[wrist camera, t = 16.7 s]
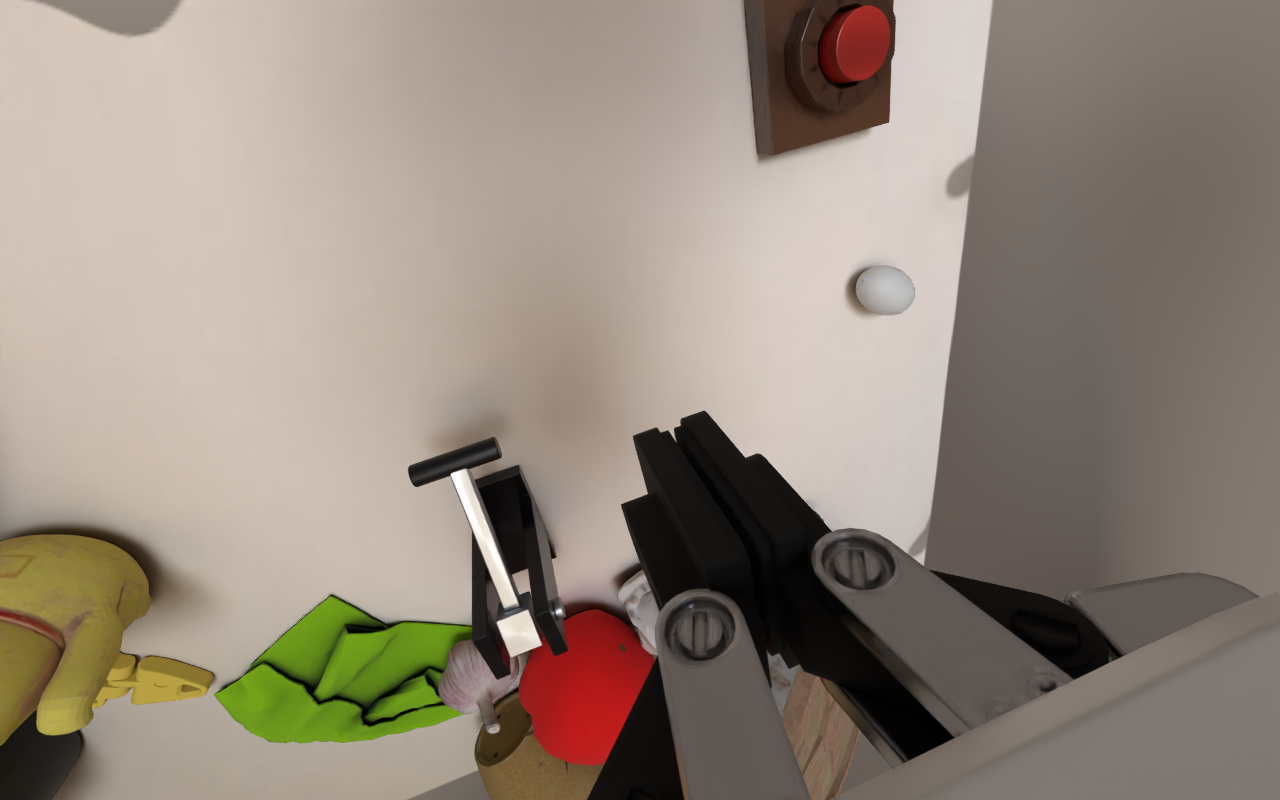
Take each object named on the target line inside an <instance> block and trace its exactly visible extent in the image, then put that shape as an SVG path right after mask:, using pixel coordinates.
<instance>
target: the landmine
mask: <svg viewBox="0 0 1280 800" xmlns="http://www.w3.org/2000/svg"><path fill="white" fill-rule="evenodd" d="M767 655H768V662H769V669H770V676H771V683H772V688H771V692H772V694H773V697H774V700H775V702H776V705H777V708H778V711H779V713H780V716H781V719H782V721H783V724H784V727H785V729H786V732H787V735H788V738H789V740H790V743H791V746H792V748H793V751H794V754H795V757H796V759H797V762H798V765H799V767H800V770H801V773H802V776H803V778H804V781H805V784H806V786H807V789H808V792H809V794H810V797H811V800H831V799H833V798H835V797H837V796H838V795H839V793H840V790H841V788H842V786H843V783H844V781H845V778H846V775H847V773H848V770H849V767H850V764H851V761H852V758H853V755H854V752H855V749H856V746H857V743H858V740H859V736H860V733H861V731H860V730H859V728H858V727H857V726H856V725H855V724H854V722H853V721H852V720H851V719H850V718H849V716H848V715H847V714H846V713H845V712H844V710H843V709H842V708H841V707H840V706H839V704H838V703H837V702H836V701H835V700H834V698H833V697H832V696H831V695H830V694H829V692H828V691H827V690H826V688H825V686H824V685H823V683H822V682H821V679H820V677H818V676H815V675H812V674H809V673H806V672H804V671H803V669H802V667H801V666H800V665H797V666H795V667H793V668H791V669H788V667H787V665H786V664H785V662H784V660H783V659H782V657H781V655H780V654H776V655H774V656H771V655H770V654H769V653H768V651H767Z"/></svg>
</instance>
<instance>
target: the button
mask: <svg viewBox="0 0 1280 800" xmlns="http://www.w3.org/2000/svg"><path fill="white" fill-rule="evenodd" d="M889 44H890V28H889V23H888V20H887V18H886V16H885V15H884V13H883V12H882V11H881V10H880V9H878V8H876V7H874V6H869V5H866V6H862V7H859V8H856V9H853V10H850V11H847V12H844V13H841V14H839V15H838V16H836V17H835V18H834V19H833V20H832V21H831V22H830V23H829V25H828V26H827V28H826V29H825V31H824V34H823V36H822V39H821V43H820V49H819V58H820V64H821V67H822V70H823V72H824V73H825V75H826V76H827V77H828V78H829V79H830V80H832V81H833V82H836V83H847V82H854V81H860V80H864V79H867V78H869V77H870V76H872V75H873V74H874V73H875V72H876V71H877V70H878V69H879V68H880V66H881V65H882V63H883V62H884V60H885V57H886V55H887V52H888V49H889Z"/></svg>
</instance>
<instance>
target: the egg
mask: <svg viewBox="0 0 1280 800" xmlns="http://www.w3.org/2000/svg"><path fill="white" fill-rule="evenodd" d="M856 293H857V297H858V299H859V301H860V302H861V303H862V304H863V306H864V307H865V308H867V309H868V310H870V311H872V312H874V313H876V314H879V315H896V314H899V313H902V312H903V311H905V310H907V309H908V308H909V307H910V306H911V304H912V302H913V300H914V297H915V288H914V285H913V282H912V280H911V279H910V278H909V277H908V276H907V275H906V274H905V273H904V272H903V271H901V270H899V269H897V268H894V267H891V266H875V267H872V268H870V269H868V270H866V271H865V272H863V273H862V274H861V275H860V277H859V279H858V280H857V283H856Z"/></svg>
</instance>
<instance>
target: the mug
mask: <svg viewBox="0 0 1280 800" xmlns="http://www.w3.org/2000/svg"><path fill="white" fill-rule="evenodd" d="M36 721H37V711H34V712H33V713H32V714H31V715H30V716H29V717H28V718H27V719H26V720H25V721H24V722H23V723H22V724H21V725H20V726H19V727H18V728H17V729H16V730H15V731H14V732H13V733H12V734H11V735H10V736H9V738H8V739H7V740H6V741H5V743H3V744H2V745H1V746H0V800H52V799H53V797H54V796H55V794H56V793H57V791H58V789H59V788H60V786H61V785H62V783H63V782H64V780H65V778H66V777H67V775H68V774H69V772H70V770H71V769H72V767H73V766H74V764H75V763H76V761H77V759H78V757H79V755H80V751H81V740H80V737H79V735H78V733H77V732H76V731H74V732H71V733H68V734H61V735H46V734H43V733H41V732H39V730H38V729H37V724H36Z"/></svg>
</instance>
